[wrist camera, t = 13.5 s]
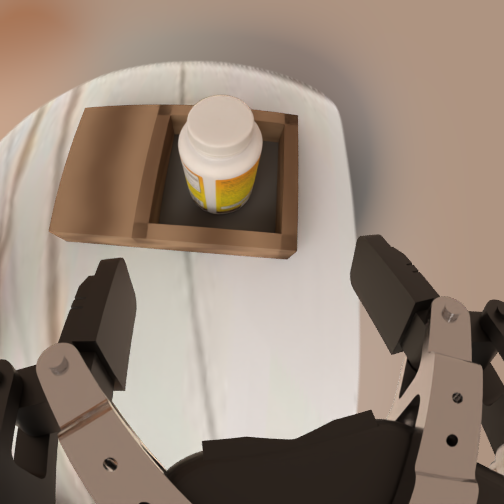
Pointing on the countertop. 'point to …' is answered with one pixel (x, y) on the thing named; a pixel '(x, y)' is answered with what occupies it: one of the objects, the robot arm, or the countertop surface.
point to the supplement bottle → (220, 153)
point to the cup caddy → (171, 187)
